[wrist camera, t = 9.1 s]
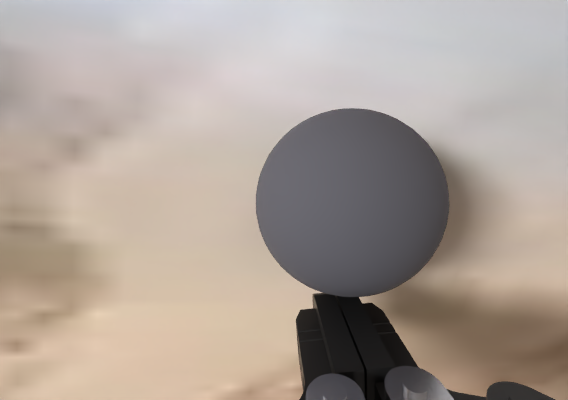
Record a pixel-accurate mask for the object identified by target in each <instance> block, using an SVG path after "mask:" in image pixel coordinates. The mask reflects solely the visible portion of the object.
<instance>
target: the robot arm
mask: <svg viewBox="0 0 568 400" xmlns="http://www.w3.org/2000/svg"><path fill="white" fill-rule="evenodd" d="M296 328H297V341H298V354H299V363H300V370H301V378H302V386H303V394H302V396H301V398H300V400H555V399H553V398H551V397H549V396H547V395H544V394H542V393H540V392H538V391H536V390H534V389H532V388H529V387H527V386H524V385H521V384H518V383H514V382H497V383H494V384H492V385H491V386H490V387H489V388H488V390H487V395H486V397H480V396H475V395H469V394H463V393H458V392H454V391H450V390H448V389H446V388H445V387H444V386H443V385H442V383H441V382H440V381H439V380H438V379H437V378H436V377H435V376H433V375H432V374H430V373H429V372H427V371H425V370H423V369H420V368H418V366H417V364H416V363H415V361H414V360H413V358H412V356H411V355H410V353H409V352H408V350H407V348H406V347H405V345H404V344H403V342H402V340H401V339H400V337H399V336H398V334H397V333H396V332H395V329H394V328H393V326H392V325H391V324H390V321H389V320H388V318H387V317H386V315H385V313H384V312H383V311H382V310H381V309H379V308H378V307H377V306H375V305H374V304H373V303H365V304H362V302H361V301H360V299H359V297H342V296H336V295H330V294H326V293H318V294H313V309H304V310H300V312H299V314H298V316H297V319H296Z"/></svg>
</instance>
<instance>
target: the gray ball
mask: <svg viewBox="0 0 568 400" xmlns="http://www.w3.org/2000/svg"><path fill="white" fill-rule="evenodd" d="M448 213H449V193H448V186H447V182H446V177H445V174H444V172H443V169H442V167H441V164H440V162H439V160H438V158H437V156H436V155H435V153H434V152H433V150H432V149H431V148H430V146H429V145H428V143H427V142H426V141H425V140H424V139H423V138H422V137H421V136H420V135H419V134H418V133H417V132H415V131H414V130H413V129H412V128H411V127H409V126H407V125H406V124H404V123H403V122H401V121H399V120H398V119H396V118H394V117H391V116H389V115H386V114H383V113H380V112H376V111H372V110H367V109H338V110H332V111H328V112H324V113H321V114H318V115H316V116H313V117H311V118H309V119H307V120H305V121H303V122H301V123H300V124H298V125H297V126H295V127H294V128H293V129H291V130H290V131H289V132H288V133H287V134H286V135H285V136H284V137H283V138H282V139H281V140H280V141H279V142H278V143H277V145H276V146H275V147H274V148H273V150H272V151H271V153H270V154H269V156H268V158H267V160H266V162H265V164H264V166H263V168H262V171H261V174H260V177H259V181H258V186H257V192H256V214H257V219H258V224H259V228H260V231H261V234H262V237H263V239H264V241H265V244H266V246H267V247H268V249H269V251H270V253H271V254H272V255H273V257H274V258H275V260H276V261H277V262H278V263H279V264H280V266H281V267H282V268H283V269H284V270H286V271H287V272H288V273H289V274H290V275H291V276H292V277H294V278H295V279H297V280H298V281H300V282H301V283H303V284H305V285H306V286H308V287H310V288H312V289H315V290H318V291H320V292H323V293H326V294H330V295H336V296H342V297H362V296H370V295H375V294H379V293H383V292H386V291H388V290H391V289H393V288H395V287H397V286H399V285H401V284H402V283H404V282H406V281H407V280H409V279H410V278H412V277H413V276H414V275H416V274H417V273H418V272H419V271H420V270H421V269H422V268H423V267H424V266H425V265H426V263H427V262H428V261H429V260H430V259H431V257H432V256H433V254H434V253H435V251H436V249H437V248H438V246H439V244H440V242H441V240H442V237H443V234H444V232H445V228H446V225H447V220H448Z"/></svg>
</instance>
